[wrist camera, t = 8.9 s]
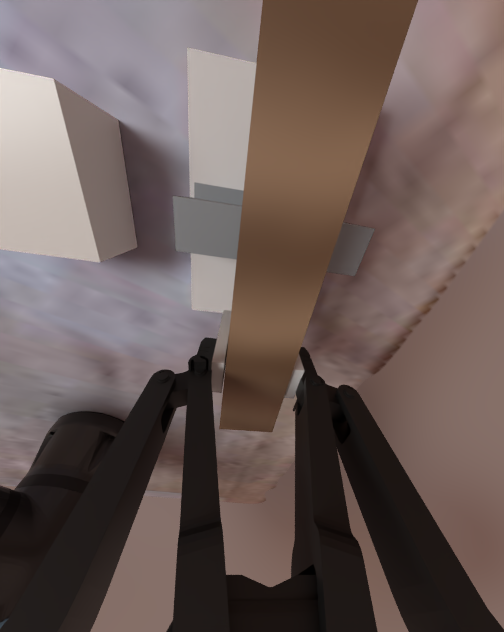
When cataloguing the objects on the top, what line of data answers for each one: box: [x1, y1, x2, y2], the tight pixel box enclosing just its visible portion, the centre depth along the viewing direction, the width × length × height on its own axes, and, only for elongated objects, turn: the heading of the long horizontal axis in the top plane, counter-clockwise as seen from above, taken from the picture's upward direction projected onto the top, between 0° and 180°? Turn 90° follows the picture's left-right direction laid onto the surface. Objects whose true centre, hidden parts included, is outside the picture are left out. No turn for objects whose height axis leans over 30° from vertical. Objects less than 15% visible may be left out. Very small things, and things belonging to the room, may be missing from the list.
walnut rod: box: [219, 0, 418, 432], centre depth 10 cm, size 26×4×4 cm, turn 172°
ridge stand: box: [173, 48, 375, 313], centre depth 16 cm, size 20×14×9 cm
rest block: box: [0, 68, 137, 262], centre depth 15 cm, size 10×8×6 cm
